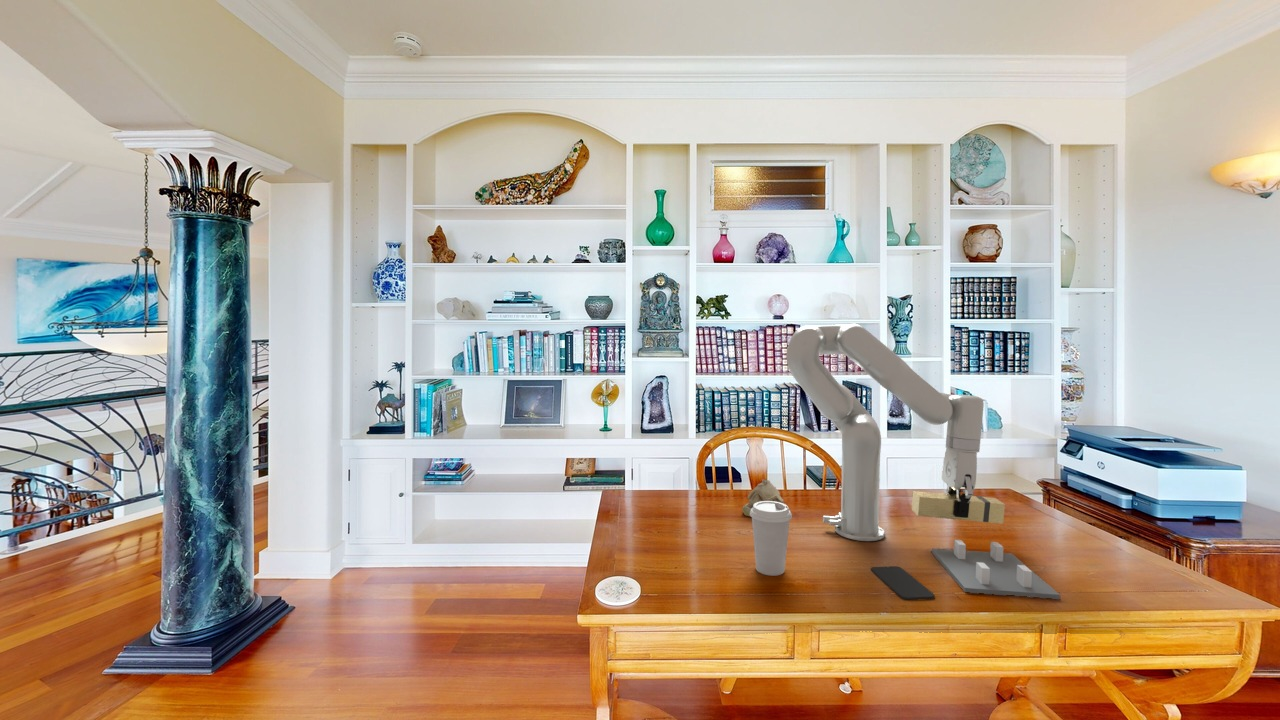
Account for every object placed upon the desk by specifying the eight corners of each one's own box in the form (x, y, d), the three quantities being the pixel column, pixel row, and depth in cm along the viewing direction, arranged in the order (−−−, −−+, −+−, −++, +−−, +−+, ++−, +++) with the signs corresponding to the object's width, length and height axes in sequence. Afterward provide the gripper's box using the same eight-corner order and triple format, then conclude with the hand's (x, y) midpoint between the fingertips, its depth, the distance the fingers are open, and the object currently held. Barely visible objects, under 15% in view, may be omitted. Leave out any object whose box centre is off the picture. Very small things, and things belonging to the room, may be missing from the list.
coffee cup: (784, 582, 123) (784, 516, 122) (743, 572, 128) (743, 508, 127) (796, 566, 131) (797, 504, 130) (757, 557, 136) (758, 497, 135)
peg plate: (964, 592, 118) (965, 571, 117) (931, 552, 138) (932, 534, 138) (1059, 599, 114) (1060, 578, 114) (1011, 557, 135) (1012, 539, 135)
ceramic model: (758, 502, 178) (759, 471, 178) (791, 509, 171) (791, 477, 171) (736, 513, 168) (736, 481, 167) (769, 522, 161) (770, 488, 160)
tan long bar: (918, 515, 142) (919, 496, 142) (911, 509, 147) (913, 490, 147) (1003, 523, 139) (1005, 503, 139) (993, 516, 144) (995, 497, 144)
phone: (899, 565, 130) (937, 596, 115) (899, 569, 130) (937, 600, 115) (868, 567, 130) (902, 597, 115) (868, 570, 130) (902, 601, 115)
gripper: (935, 435, 151) (929, 501, 152) (959, 450, 134) (953, 523, 135) (965, 437, 149) (959, 503, 151) (993, 452, 132) (986, 526, 134)
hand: (956, 512), depth 143 cm, fingers closed on tan long bar, 5 cm apart
